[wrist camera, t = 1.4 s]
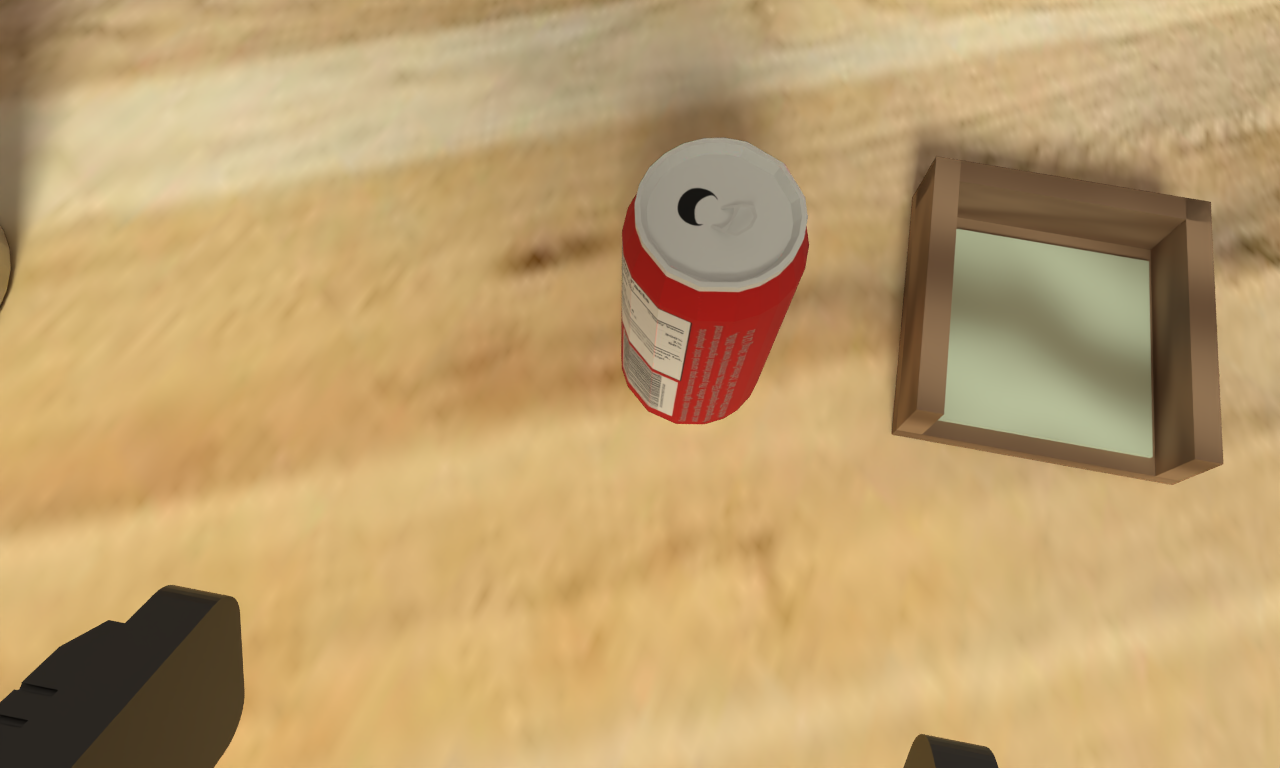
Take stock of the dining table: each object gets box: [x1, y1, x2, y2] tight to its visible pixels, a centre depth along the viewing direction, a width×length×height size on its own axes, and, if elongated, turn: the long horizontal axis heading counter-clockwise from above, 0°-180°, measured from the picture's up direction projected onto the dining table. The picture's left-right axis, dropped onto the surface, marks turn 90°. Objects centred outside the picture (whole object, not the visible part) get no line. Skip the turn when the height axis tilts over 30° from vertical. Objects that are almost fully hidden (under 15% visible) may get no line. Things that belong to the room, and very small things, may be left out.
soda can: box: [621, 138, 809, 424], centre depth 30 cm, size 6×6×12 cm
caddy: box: [892, 156, 1223, 485], centre depth 35 cm, size 11×11×3 cm
